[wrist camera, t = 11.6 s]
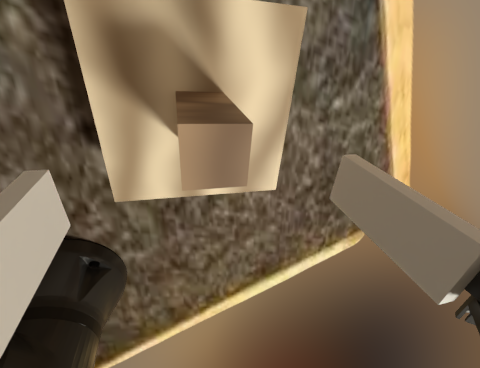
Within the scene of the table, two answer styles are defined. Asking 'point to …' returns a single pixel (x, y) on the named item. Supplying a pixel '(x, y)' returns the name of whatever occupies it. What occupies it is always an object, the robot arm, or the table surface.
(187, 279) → the table surface
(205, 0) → the board
